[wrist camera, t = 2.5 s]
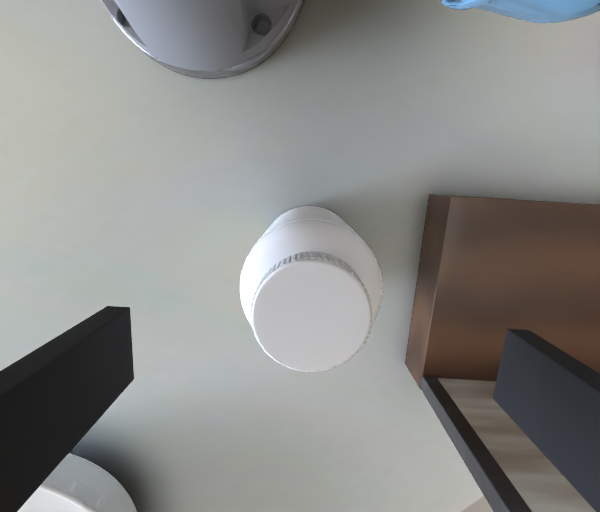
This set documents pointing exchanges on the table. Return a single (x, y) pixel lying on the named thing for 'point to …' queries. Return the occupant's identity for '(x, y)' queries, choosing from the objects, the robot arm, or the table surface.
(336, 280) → the pill bottle
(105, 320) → the robot arm
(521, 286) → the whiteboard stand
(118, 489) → the serving bowl
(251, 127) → the table surface
